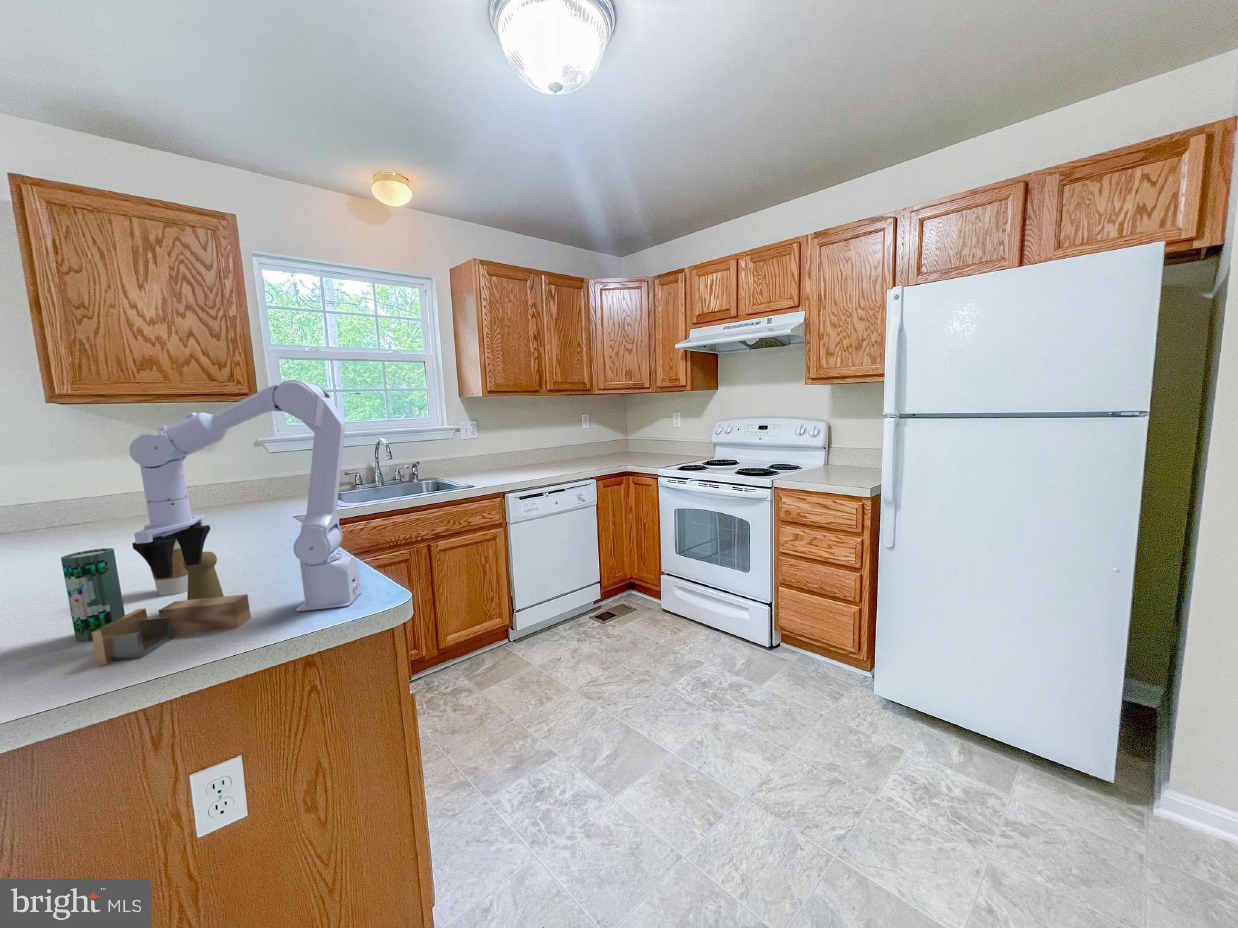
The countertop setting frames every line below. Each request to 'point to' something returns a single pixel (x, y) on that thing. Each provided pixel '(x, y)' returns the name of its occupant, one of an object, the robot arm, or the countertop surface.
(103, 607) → the can
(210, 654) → the countertop surface
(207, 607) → the tan rectangular block
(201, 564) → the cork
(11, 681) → the countertop surface
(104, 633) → the bracket
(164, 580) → the coffee cup
